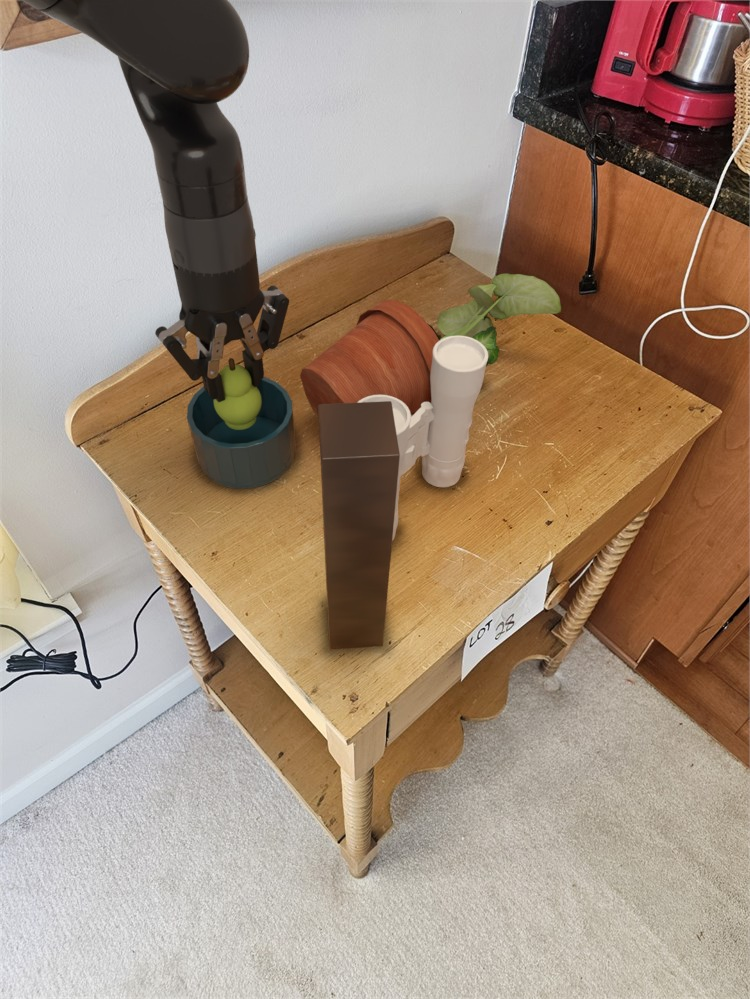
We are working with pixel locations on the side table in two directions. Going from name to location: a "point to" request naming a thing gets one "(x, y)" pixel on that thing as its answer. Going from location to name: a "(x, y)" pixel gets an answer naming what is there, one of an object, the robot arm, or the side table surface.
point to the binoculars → (440, 414)
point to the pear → (238, 397)
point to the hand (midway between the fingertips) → (235, 388)
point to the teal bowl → (244, 439)
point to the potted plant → (416, 343)
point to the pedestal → (357, 517)
